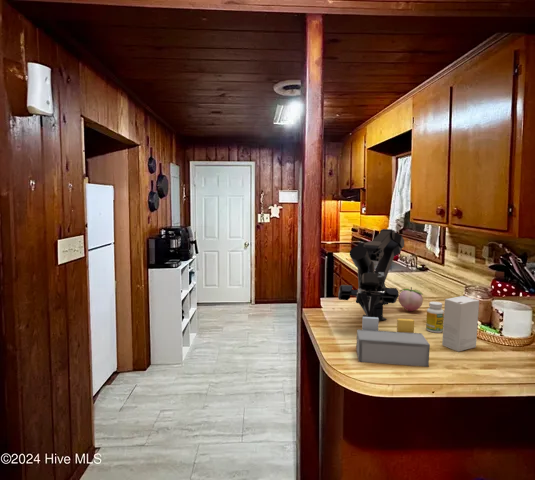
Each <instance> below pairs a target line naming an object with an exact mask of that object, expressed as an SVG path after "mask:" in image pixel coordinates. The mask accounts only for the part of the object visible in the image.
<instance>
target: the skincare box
mask: <svg viewBox="0 0 535 480" xmlns="http://www.w3.org/2000/svg"><path fill="white" fill-rule="evenodd" d="M479 307H480V300H479V299H475V298H471V297H468V296H465V295H461V296H456V297H450V298H445V299H444V309H443V311H444V321H443V331H442V342H441V345H442V346H444V347H446V348H449V350H452V351H454V352H455V351H456V352H461V351H465V350H469V349H470V350H471V349H475V348H476V347H477V340H478V339H477V337H478V325H479V324H478V323H479V321H478V320H479V309H480V308H479Z"/></svg>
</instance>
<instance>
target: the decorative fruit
mask: <svg viewBox="0 0 535 480" xmlns="http://www.w3.org/2000/svg"><path fill="white" fill-rule="evenodd" d="M399 292H400V293H399ZM398 293H399V296H398V303H399V305H400V306H401V307H402V308H404V310H407V311H408V312H414V311H416V310H418V309H419V308H421V307H422V305H423V301H424V300H423V299H424V298H423V295H424V294H423V293H422V291H420V290H418V289H412V286H411V287H410V289H409V288H401V290H398Z"/></svg>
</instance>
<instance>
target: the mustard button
mask: <svg viewBox="0 0 535 480" xmlns="http://www.w3.org/2000/svg"><path fill="white" fill-rule="evenodd" d="M396 332H407V333H415V320H414V318H413V319H412V318H409V319H408V318H396Z"/></svg>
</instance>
